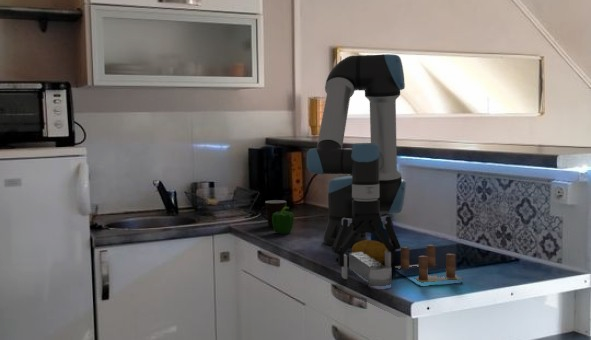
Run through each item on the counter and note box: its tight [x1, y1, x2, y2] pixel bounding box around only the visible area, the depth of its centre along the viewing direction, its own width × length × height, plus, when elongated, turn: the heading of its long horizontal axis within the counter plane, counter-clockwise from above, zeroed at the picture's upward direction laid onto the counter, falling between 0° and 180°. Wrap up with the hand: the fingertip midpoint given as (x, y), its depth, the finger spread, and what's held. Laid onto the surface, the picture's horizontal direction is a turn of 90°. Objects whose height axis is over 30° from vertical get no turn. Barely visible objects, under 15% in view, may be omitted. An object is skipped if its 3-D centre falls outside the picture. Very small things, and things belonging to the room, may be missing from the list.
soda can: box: [370, 215, 394, 245], centre depth 205 cm, size 7×7×12 cm
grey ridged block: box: [348, 252, 393, 286], centre depth 176 cm, size 22×6×5 cm, turn 14°
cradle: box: [394, 244, 463, 283], centre depth 177 cm, size 18×12×7 cm, turn 14°
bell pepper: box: [272, 206, 295, 235], centre depth 244 cm, size 8×8×10 cm
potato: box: [351, 239, 388, 264], centre depth 194 cm, size 8×14×7 cm, turn 43°
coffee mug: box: [260, 199, 287, 229], centre depth 259 cm, size 12×9×10 cm
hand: (366, 276), depth 179 cm, fingers open, 12 cm apart
